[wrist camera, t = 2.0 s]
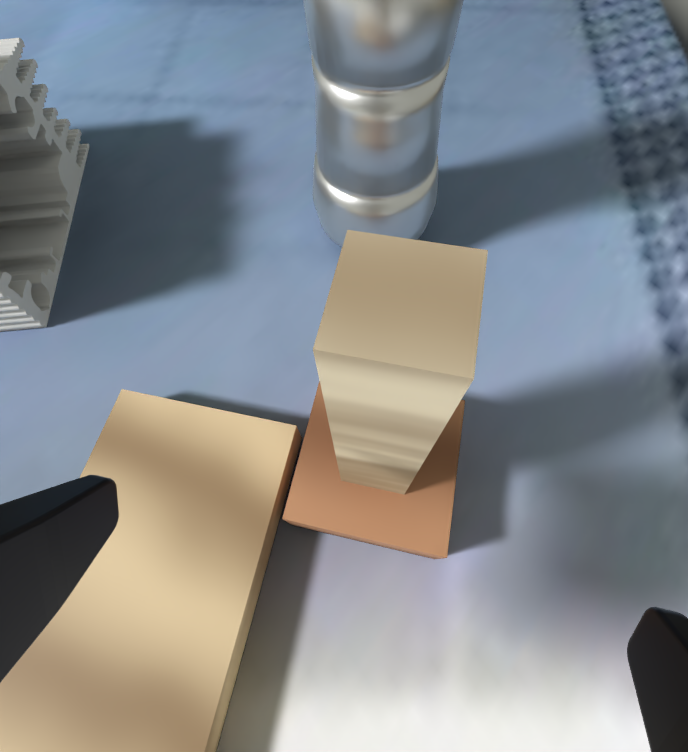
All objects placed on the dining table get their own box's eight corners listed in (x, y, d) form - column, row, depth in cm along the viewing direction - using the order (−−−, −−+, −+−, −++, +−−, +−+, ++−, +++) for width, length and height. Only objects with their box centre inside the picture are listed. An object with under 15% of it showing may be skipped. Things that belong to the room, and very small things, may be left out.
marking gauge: (435, 559, 17) (608, 537, 5) (292, 525, 18) (156, 437, 6) (452, 420, 19) (598, 188, 8) (325, 395, 20) (277, 147, 8)
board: (72, 1278, 10) (18, 1410, 9) (-193, 1147, 11) (-285, 1244, 10) (301, 437, 19) (296, 425, 18) (141, 403, 20) (122, 389, 19)
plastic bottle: (416, 179, 26) (552, -754, 8) (441, 267, 23) (754, -881, 5) (311, 192, 26) (194, -728, 7) (324, 282, 23) (183, -846, 5)
